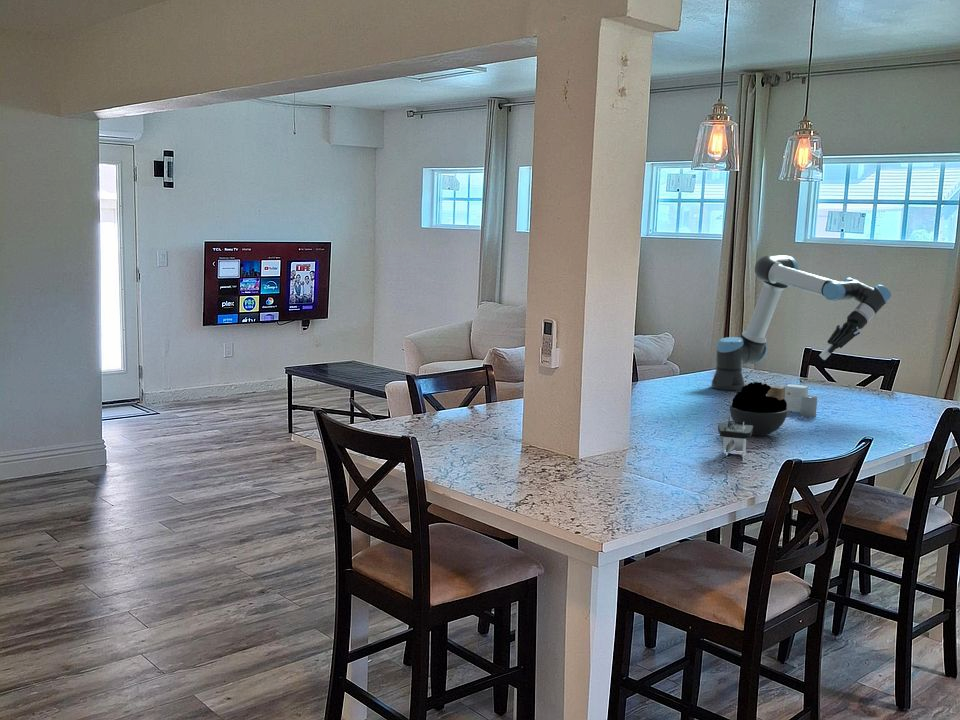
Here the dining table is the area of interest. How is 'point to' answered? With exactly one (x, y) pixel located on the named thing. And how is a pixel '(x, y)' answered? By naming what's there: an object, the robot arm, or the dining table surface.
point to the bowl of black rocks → (758, 409)
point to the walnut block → (777, 392)
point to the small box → (794, 396)
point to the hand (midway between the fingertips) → (822, 357)
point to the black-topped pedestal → (735, 435)
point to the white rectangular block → (808, 406)
